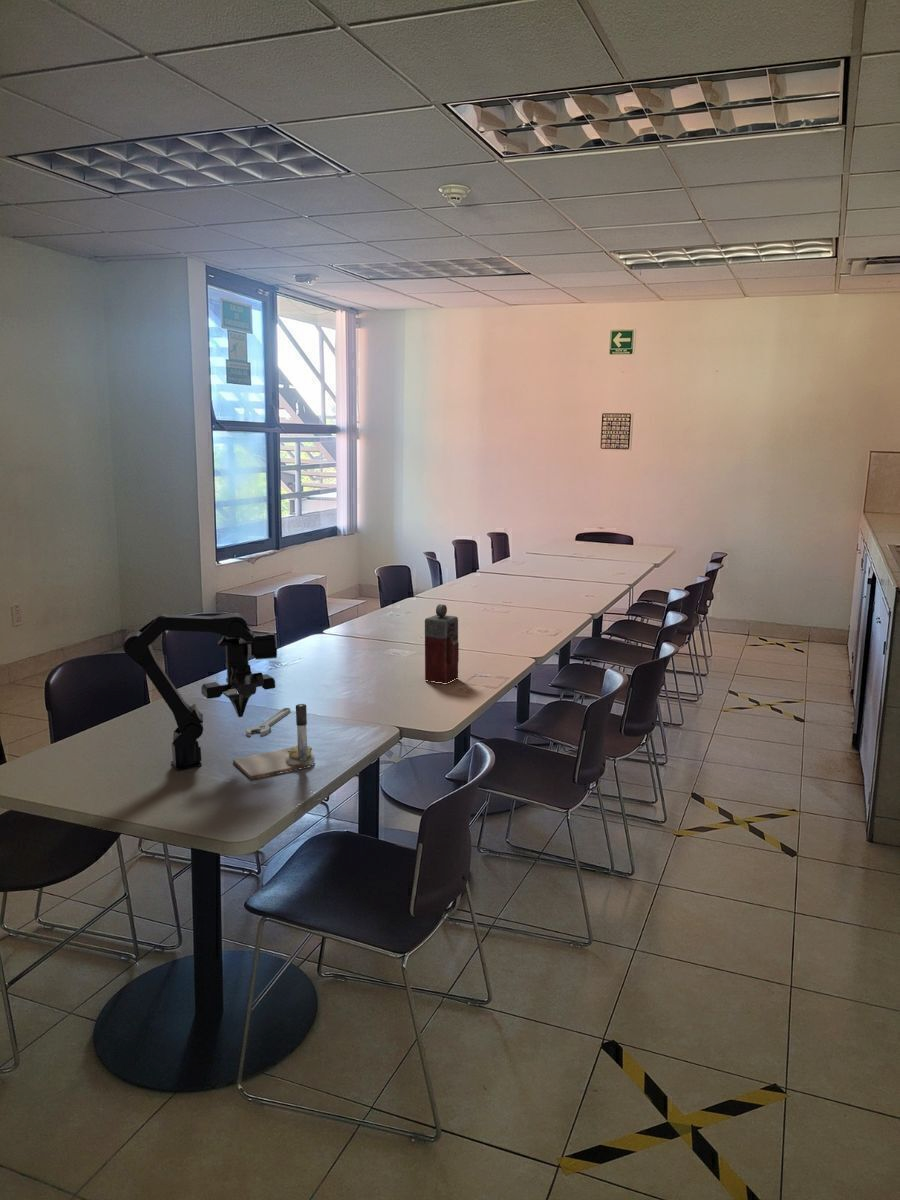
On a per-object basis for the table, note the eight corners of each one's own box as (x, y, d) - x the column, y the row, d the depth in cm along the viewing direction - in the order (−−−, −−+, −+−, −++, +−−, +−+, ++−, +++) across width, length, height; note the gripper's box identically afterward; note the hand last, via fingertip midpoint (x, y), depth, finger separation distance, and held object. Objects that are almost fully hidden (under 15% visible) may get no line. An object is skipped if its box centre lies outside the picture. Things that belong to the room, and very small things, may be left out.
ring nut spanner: (286, 752, 230) (284, 696, 227) (310, 750, 231) (308, 694, 229) (291, 766, 220) (289, 708, 217) (315, 763, 222) (314, 705, 219)
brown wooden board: (251, 779, 217) (250, 772, 217) (233, 762, 228) (232, 755, 228) (319, 765, 227) (319, 757, 227) (298, 749, 238) (298, 742, 238)
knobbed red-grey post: (451, 685, 301) (451, 608, 296) (424, 681, 307) (424, 605, 302) (463, 679, 309) (464, 604, 304) (437, 675, 314) (437, 601, 309)
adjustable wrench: (284, 712, 274) (284, 706, 274) (302, 713, 272) (302, 708, 272) (243, 736, 250) (242, 730, 250) (262, 738, 249) (262, 732, 248)
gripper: (212, 672, 215) (215, 731, 218) (282, 662, 225) (284, 718, 227) (199, 663, 224) (202, 719, 227) (266, 653, 234) (269, 708, 237)
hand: (240, 716), depth 229 cm, fingers closed
